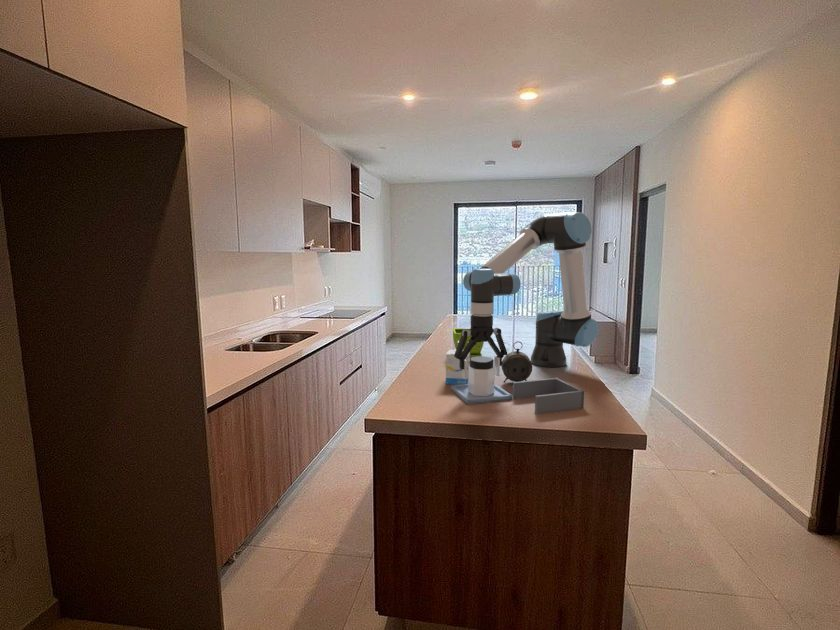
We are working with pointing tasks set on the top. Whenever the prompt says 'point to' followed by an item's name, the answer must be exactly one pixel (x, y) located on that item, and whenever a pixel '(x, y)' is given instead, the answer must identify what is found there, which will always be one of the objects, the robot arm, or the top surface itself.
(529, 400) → the top surface
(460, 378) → the ink box
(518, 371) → the alarm clock
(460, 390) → the tray
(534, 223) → the robot arm
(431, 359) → the top surface
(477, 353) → the flower pot
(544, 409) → the wall
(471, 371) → the jar
